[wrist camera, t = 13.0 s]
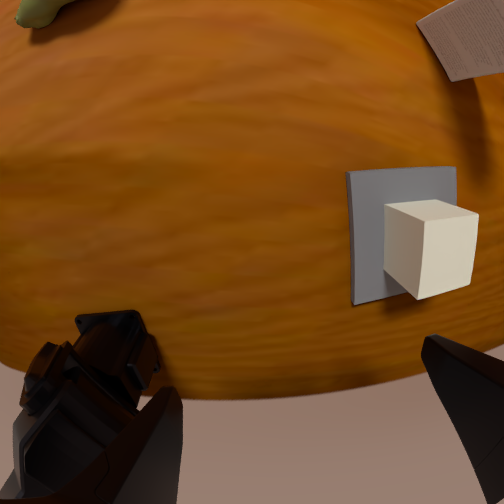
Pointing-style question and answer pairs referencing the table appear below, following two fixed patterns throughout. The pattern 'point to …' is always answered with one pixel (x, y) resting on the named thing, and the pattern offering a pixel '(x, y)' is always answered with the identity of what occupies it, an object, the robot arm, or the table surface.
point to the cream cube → (429, 246)
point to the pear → (38, 12)
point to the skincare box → (467, 37)
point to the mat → (373, 220)
